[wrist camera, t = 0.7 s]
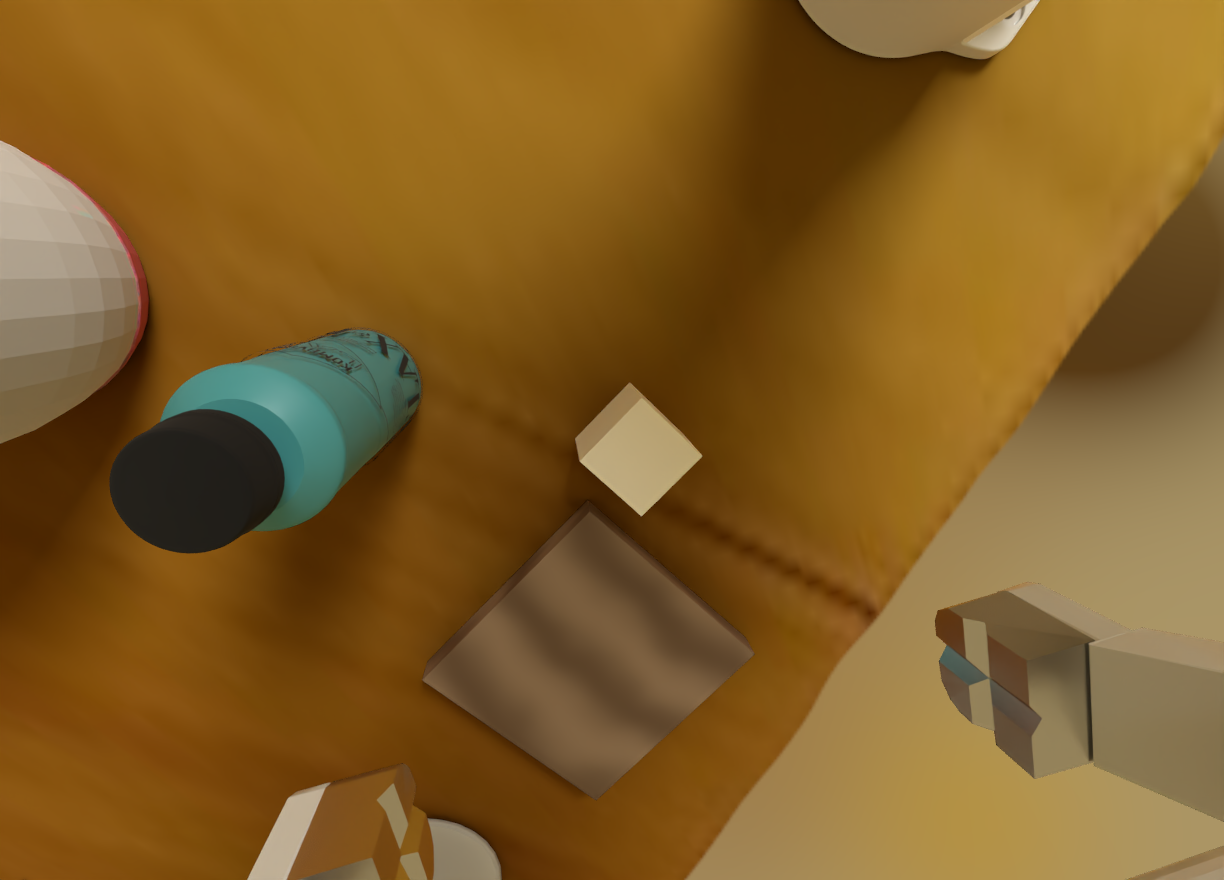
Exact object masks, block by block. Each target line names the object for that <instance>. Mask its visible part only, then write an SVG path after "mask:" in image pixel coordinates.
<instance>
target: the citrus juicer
mask: <svg viewBox="0 0 1224 880" xmlns="http://www.w3.org/2000/svg"><path fill="white" fill-rule="evenodd" d="M148 306H149V296H148V289H147V281H146V277H145V274H144V271H143V268H142V265H141V262H140V259H139V256H138V255H137V253H136V251H135V249H134V247H133V246H132V244H131V242H130V240H129V238H128V237H127V235H126V234H125V233H124V231H123V230H122V229H121V228H120V226H119V225H118V224H117V223H116V221H115V220H114V219H113V218H112V216H111V215H110V214H108V213H107V212H106V211H105V210H104V209H103V208H102V207H101V206H100V205H99V204H98V203H96V202H95V201H94V200H93V199H92V198H91V197H90V196H89V195H88V194H87V193H86V192H84V191H83V190H82V189H81V188H80V187H78V186H77V185H76V184H75V183H73V182H72V181H71V180H69V179H68V178H66V177H65V176H63V175H62V174H60V173H59V172H57V171H56V170H54V169H53V168H51V167H50V166H48V165H46V164H45V163H43V162H40V161H38V160H36V159H34V158H32V157H29V156H28V155H26V154H24V153H23V152H21V151H20V150H18V149H16V148H15V147H13V146H11V145H9V144H7V143H4V142H2V141H0V444H1V443H3V442H6V441H8V440H11V439H13V438H16V437H19V436H21V435H24V434H26V433H29V432H31V431H34V430H36V429H38V428H39V427H41V426H43V425H45V424H46V423H48V422H50V421H52V420H53V419H55V418H57V417H58V416H60V415H62V414H64V413H65V412H67V411H68V410H70V409H72V408H73V407H75V406H76V405H78V404H80V403H81V402H83V401H84V400H86V399H87V398H88V397H89V396H90V395H92V394H93V393H95V392H96V391H98V390H100V389H101V388H103V387H104V386H106V385H107V384H108V383H109V382H110V381H111V380H112V379H113V378H114V377H115V376H116V375H117V374H118V372H119V371H120V370H121V369H122V368H123V367H124V366H125V364H126V363H127V362H128V360H129V359H130V357H131V355H132V354H133V352H134V350H135V349H136V347H137V345H138V344H139V342H140V340H141V339H142V336H143V333H144V329H145V326H146V323H147V319H148Z"/></svg>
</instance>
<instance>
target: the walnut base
mask: <svg viewBox="0 0 1224 880" xmlns="http://www.w3.org/2000/svg"><path fill="white" fill-rule="evenodd" d="M753 655H754V652H753V650H752V648H751V647H750V645H749V643H748V641H747V639H746V638H745V637H744V636H743V635H742V634H741V633H740V632H739V631H737V630H736V629H735V628H734V627H733V626H732V625H731V624H729V623H728V622H727V621H726V620H725V619H724V618H722V617H721V616H720V615H719V614H718V613H717V612H716V611H714V610H713V609H712V608H711V607H710V606H709V605H708V604H706V603H705V602H704V601H703V600H702V599H701V598H700V597H698V596H697V595H696V594H695V593H694V592H693V591H691V590H690V589H689V588H688V587H687V586H686V585H685V584H683V583H682V582H681V581H680V580H679V579H678V578H677V577H675V576H674V575H673V574H672V573H671V572H670V571H668V570H667V569H666V568H665V567H664V566H663V565H662V564H660V563H659V562H658V561H657V560H656V559H655V558H654V557H652V556H651V555H650V554H649V553H648V552H647V551H646V550H644V549H643V548H642V547H641V546H640V545H639V544H637V543H636V542H635V541H634V540H633V539H632V538H631V537H629V536H628V535H627V534H626V533H625V532H624V531H623V530H621V529H620V528H619V527H618V526H617V525H616V524H614V523H613V522H612V521H611V520H610V519H609V518H608V517H606V516H605V515H604V514H603V513H602V512H601V511H600V510H598V509H597V508H596V507H595V506H594V505H593V504H591V503H590V502H589V501H588V500H587V501H586V502H585V503H584V504H583V505H582V506H581V507H580V508H579V509H578V510H577V511H576V512H575V513H574V514H573V515H572V516H571V517H570V518H569V519H568V520H567V521H566V522H565V523H564V524H563V525H562V526H561V527H560V528H559V529H558V530H557V531H556V532H555V533H554V534H553V536H552V537H551V538H550V539H549V540H548V541H547V542H546V543H545V544H544V545H543V546H542V547H541V548H540V549H539V550H538V551H537V552H536V553H535V554H534V555H533V556H532V557H531V558H530V559H529V560H528V561H527V562H526V563H525V564H524V565H523V566H522V567H521V568H520V569H519V570H518V571H517V572H516V573H515V574H514V575H513V576H512V577H511V578H510V579H509V580H508V581H507V582H506V583H505V584H504V585H503V586H502V587H501V588H500V589H499V590H498V591H497V592H496V593H495V594H494V595H493V596H492V597H491V598H490V599H489V600H488V601H487V602H486V603H485V604H484V605H483V606H482V607H481V608H480V609H479V610H478V611H477V612H476V613H475V614H474V615H473V616H472V617H471V618H470V619H469V620H468V621H467V622H466V623H465V624H464V625H463V626H462V627H461V628H460V629H459V630H458V631H457V632H456V633H455V634H454V635H453V636H452V637H451V638H450V639H449V640H448V641H447V642H446V643H445V644H444V645H443V646H442V647H441V648H440V649H439V651H438V652H437V653H436V654H435V655H434V656H433V657H432V658H431V659H430V660H429V661H428V662H427V665H426V669H425V672H424V675H423V679H422V681H424V682H425V683H427V684H428V685H430V686H431V687H433V688H434V689H436V690H437V691H438V692H440V693H441V694H443V695H444V696H446V697H447V698H449V699H450V700H451V701H453V702H454V703H456V704H457V705H459V706H460V707H462V708H463V709H464V710H466V711H467V712H469V713H470V714H472V715H473V716H475V717H476V718H477V719H479V720H480V721H482V722H483V723H485V724H486V725H488V726H489V727H490V728H492V729H493V730H495V731H496V732H498V733H499V734H501V735H502V736H503V737H505V738H506V739H508V740H509V741H511V742H512V743H514V744H515V745H517V746H518V747H519V748H521V749H522V750H524V751H525V752H527V753H528V754H530V755H531V756H532V757H534V758H535V759H537V760H538V761H540V762H541V763H543V764H544V765H545V766H547V767H548V768H550V769H551V770H553V771H554V772H556V773H557V774H558V775H560V776H561V777H563V778H564V779H566V780H567V781H569V782H570V783H571V784H573V785H574V786H576V787H577V788H579V789H580V790H582V791H583V792H584V793H586V794H587V795H589V796H590V797H592V798H593V799H595V800H597V799H598V798H599V797H600V796H601V795H603V794H604V793H605V792H606V791H607V790H608V789H609V788H610V787H611V786H612V785H613V784H614V783H616V782H617V781H618V780H619V779H620V778H621V777H622V776H623V775H624V774H625V773H626V772H627V771H629V770H630V769H631V768H632V767H633V766H634V765H635V764H636V763H637V762H638V761H639V760H641V759H642V758H643V757H644V756H645V755H646V754H647V753H648V752H649V751H650V750H651V749H652V748H654V747H655V746H656V745H657V744H658V743H659V742H660V741H661V740H662V739H663V738H664V737H665V736H667V735H668V734H669V733H670V732H671V731H672V730H673V729H674V728H675V727H676V726H677V725H678V724H680V723H681V722H682V721H683V720H684V719H685V718H686V717H687V716H688V715H689V714H690V713H691V712H693V711H694V710H695V709H696V708H697V707H698V706H699V705H700V704H701V703H702V702H703V701H705V700H706V699H707V698H708V697H709V696H710V695H711V694H712V693H713V692H714V691H715V690H716V689H718V688H719V687H720V686H721V685H722V684H723V683H724V682H725V681H726V680H727V679H728V678H729V677H731V676H732V675H733V674H734V673H735V672H736V671H737V670H738V669H739V668H740V667H741V666H742V665H744V664H745V663H746V662H747V661H748V660H749V659H750V658H751V657H752V656H753Z"/></svg>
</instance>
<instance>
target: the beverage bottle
mask: <svg viewBox="0 0 1224 880" xmlns="http://www.w3.org/2000/svg"><path fill="white" fill-rule="evenodd" d="M353 328H354V327H353ZM358 328H361V329H363V328H362V327H358ZM368 329H370V328H368ZM368 329H367V330H368ZM348 330H351V329H349V328H348V329H343V330H341V331H337V332H334V333H332V332H330V334H335V335H332V336H328V337H326V336H327V334H329V333H327V334H325V335H326V336H325V335H324V336H322V337H324V338H321V337H319V336H318V337H319V338H321V339H318V338H317V340H315V339H314V341H313V340H311V341H308V339H307V341H308V342H306V343H305V342H301V344H300V345H299V344H297V345H296V346H293V347H291V346H289V345H287V344H286V345H287V346H288V347H289V348H288V347H286V346H285V348H286V349H282V350H279V351H275V352H272V353H268V354H265V355H262V354H261V356H260V355H259V356H258V357H256V358H253V359H251V360H247V361H243V360H244V359H243V360H242V361H243V362H242V361H241V362H240V363H232V364H226V365H221V366H217V367H214V368H211V369H208V370H206V371H203V372H201V373H199V374H197V375H195V376H194V377H192V378H191V379H189V380H188V381H186V382H185V383H184V384H183V385H182V386H181V387H180V388H179V389H178V390H177V391H176V392H175V393H174V394H173V396H172V397H171V398H170V400H169V402H168V403H167V405H166V407H165V409H164V412H163V414H162V417H161V420H160V423H158V424H156V425H155V426H154V427H152V428H151V429H150V430H148V431H146V432H144V433H142V434H141V435H139V436H137V437H135V438H134V439H133V440H131V441H130V442H129V443H128V444H127V445H126V446H125V447H124V448H123V449H122V450H121V451H120V453H119V454H118V456H117V457H116V459H115V461H114V463H113V466H112V469H111V473H110V493H111V497H112V501H113V504H114V506H115V508H116V510H117V512H118V514H119V515H120V517H121V518H122V520H123V521H124V522H125V524H126V525H127V526H128V527H129V528H130V529H131V530H132V531H133V532H134V533H135V534H136V535H138V536H139V537H140V538H142V539H143V540H145V541H147V542H149V543H150V544H152V545H155V546H157V547H159V548H162V549H165V550H169V551H173V552H179V553H201V552H207V551H211V550H215V549H218V548H221V547H223V546H225V545H227V544H229V543H231V542H232V541H234V540H235V539H237V538H238V537H240V536H241V535H243V534H245V533H247V532H249V531H272V530H280V529H285V528H289V527H293V526H295V525H298V524H301V523H303V522H305V521H307V520H309V519H311V518H312V517H314V516H315V515H316V514H318V513H319V512H320V511H321V510H322V509H324V508H325V507H326V506H327V505H328V504H329V502H330V501H331V500H332V499H333V498H334V496H335V495H336V493H337V492H338V491H339V490H340V489H341V488H342V487H343V486H344V485H345V484H346V483H347V482H348V481H349V479H350V478H351V477H352V476H353V475H354V474H355V473H356V472H357V471H358V470H359V469H360V468H361V467H362V466H364V464H365V463H366V462H367V461H369V460H370V459H371V458H372V457H373V456H375V454H376V453H377V452H378V451H379V450H380V449H381V448H383V446H384V445H385V446H386V443H387V444H388V441H389V440H390V439H391V438H392V439H393V436H394V435H395V434H396V433H397V432H399V430H400V429H401V427H402V426H404V424H405V423H406V422H407V421H408V420H409V419H410V418H411V417H412V415H413V414H414V412H415V410H416V408H417V406H418V403H419V400H421V398H420V394H421V382H420V377H419V373H418V370H417V368H416V365H415V363H414V361H413V360H412V358H411V357H410V355H409V354H408V353H407V352H406V351H405V349H406V348H405V349H404V348H403V347H401V346H400V345H399V344H398V343H397V342H395V341H394V340H392V339H391V338H389V337H388V336H389V335H388V336H385V335H384V334H385V333H384V334H379V332H380V331H379V332H378V333H376V331H377V330H376V331H374V332H373V330H371V331H367V330H351V331H348ZM344 331H346V332H344ZM341 332H342V333H341ZM337 333H339V334H337ZM330 334H329V335H330ZM386 335H387V334H386ZM390 337H391V336H390ZM313 338H314V337H313ZM393 339H394V338H393ZM396 341H397V340H396ZM302 343H303V344H302ZM294 344H296V343H295V342H294ZM400 344H401V343H400ZM290 345H292V344H290ZM401 345H402V344H401ZM402 346H403V345H402ZM277 348H283V347H282V346H281V347H279V346H278V347H277ZM273 349H275V348H273ZM267 350H268V349H267ZM406 350H407V349H406ZM269 351H270V350H269ZM272 351H274V350H272ZM407 351H408V350H407ZM261 352H262V351H261ZM267 352H268V351H267ZM408 352H409V351H408ZM251 355H252V354H251ZM249 356H250V355H249ZM411 356H412V355H411ZM246 358H247V357H246ZM413 359H414V358H413ZM416 364H417V363H416ZM417 366H418V365H417ZM418 369H419V368H418ZM419 371H420V370H419ZM420 374H421V373H420ZM421 378H422V377H421ZM422 385H423V383H422ZM422 396H423V394H422ZM419 404H420V403H419ZM420 405H421V404H420ZM418 407H419V406H418ZM419 408H420V407H419ZM416 413H417V412H416ZM414 415H416V414H414ZM413 417H414V416H413ZM413 419H414V418H413ZM411 420H412V419H411ZM411 420H410V421H411ZM410 421H409V422H408V423H407V424H406V425H405V426H404V427H402V429H401V431H402V430H403V429H404V428H405V427H406V426H407V425H408V424H409V423H410ZM401 431H400V432H401ZM397 434H398V433H397ZM392 439H391V440H392ZM392 441H393V440H392ZM392 441H391V442H392ZM391 442H390V443H391ZM390 443H389V444H390ZM389 444H388V445H389ZM388 445H387V446H388ZM384 448H385V447H384ZM383 450H384V449H383ZM375 459H376V458H375ZM375 459H374V460H375ZM374 460H373V461H374ZM368 464H369V463H368ZM365 465H366V464H365Z"/></svg>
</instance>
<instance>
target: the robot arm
mask: <svg viewBox="0 0 1224 880" xmlns="http://www.w3.org/2000/svg"><path fill="white" fill-rule="evenodd" d="M1039 1H1040V0H799V2H800V4H801V5H802V7H803V8H804V9H805V11H806V12H807V13H808V15H809V16H810V17H811V18H812V20H813V21H814V22H815V23H816V24H817V25H818V26H819V27H820V28H821V29H822V30H823V31H824V32H825V33H827V34H828V35H829V36H831V37H832V38H833V39H835V40H836V41H838V42H839V43H841V44H843V45H844V46H846V47H848V48H850V49H853V50H855V51H857V52H860V53H863V54H867V55H871V56H876V57H884V58H902V57H909V56H914V55H919V54H924V53H928V52H934V51H948V52H951V53H954V54H957V55H960V56H964V57H968V58H973V59H987V58H990V57H992V56H993V55H995V54H996V53H998V52H999V51H1001V50H1002V49H1004V48H1005V47H1006V46H1007V45H1008V44H1009V43H1010V42H1011V41H1012V39H1013V38H1014V37H1015V35H1016V34H1017V32H1018V31H1019V29H1020V28H1021V27H1022V25H1023V24H1024V22H1025V21H1026V19H1027V18H1028V17H1029V15H1030V14H1031V12H1032V11H1033V9H1034V8H1035V7H1036V5H1037V4H1038V2H1039ZM935 627H936V636H938V637H939V638H940V639H941V640H942V641H943V642H944V643H945V644H946V645H947V646H946V648H945V650H944V652H943V654H942V656H941V658H940V660H939V665H940V671H941V679H942V682H943V684H944V687H945V689H946V691H947V693H948V695H949V697H950V699H951V701H952V702H953V703H954V705H955V706H956V707H957V709H958V710H959V712H960V713H961V714H963V715H964V716H965V717H966V718H967V719H968V720H969V721H970V722H971V723H972V724H975V725H978V726H981V727H984V728H986V729H989V730H992V731H994V734H995V740H996V745H997V746H998V747H999V748H1000V749H1001V750H1002V751H1004V752H1005V753H1006V754H1007V755H1008V756H1009V757H1010V758H1012V759H1013V760H1014V761H1015V762H1016V763H1017V764H1018V765H1019V766H1021V767H1022V768H1023V769H1024V770H1025V771H1026V772H1028V774H1030V775H1031V776H1032V777H1033V778H1034V779H1037V778H1040V777H1044V776H1047V775H1051V774H1054V773H1058V772H1061V771H1065V770H1068V769H1072V768H1075V767H1079V766H1082V765H1086V764H1089V763H1093V762H1094V766H1095V767H1098V768H1100V769H1103V770H1105V771H1107V772H1110V773H1112V774H1114V775H1117V776H1119V777H1121V778H1123V779H1126V780H1128V781H1130V782H1133V783H1135V784H1138V785H1140V786H1142V787H1144V788H1147V789H1149V790H1151V791H1154V792H1156V793H1158V794H1160V795H1163V796H1165V797H1168V798H1170V799H1172V800H1174V801H1177V802H1179V803H1181V804H1184V805H1186V806H1188V807H1191V808H1193V809H1195V810H1198V811H1200V812H1202V813H1205V814H1207V815H1209V816H1211V817H1214V818H1216V819H1219V820H1221V821H1223V822H1224V642H1221V641H1215V640H1209V639H1203V638H1198V637H1192V636H1187V635H1181V634H1175V633H1169V632H1164V631H1158V630H1153V629H1147V628H1139V629H1136V630H1130V629H1128V628H1126V627H1124V626H1122V625H1120V624H1118V623H1116V622H1114V621H1113V620H1111V619H1108V618H1106V617H1105V616H1103V615H1101V614H1099V613H1097V612H1095V611H1093V610H1090V609H1089V608H1086V607H1084V606H1082V605H1081V604H1079V603H1077V602H1075V601H1073V600H1070V599H1069V598H1067V597H1065V596H1063V595H1061V594H1059V593H1057V592H1055V591H1053V590H1051V589H1049V588H1047V587H1045V586H1043V585H1041V584H1039V583H1031V582H1026V583H1022V584H1019V585H1016V586H1013V587H1010V588H1007V589H1004V590H1001V591H998V592H997V593H994V594H991V595H988V596H985V597H981V598H978V599H974V600H971V601H968V602H964V603H961V604H958V605H954V606H951V607H948V608H944V609H941V610H938V611H937V615H936V619H935ZM415 791H416V784H415V781H414V779H413V776H412V773H411V771H410V768H409V767H408V766H406V765H405V764H403V763H401V764H397V765H393V766H390V767H386V768H382V769H378V770H374V771H371V772H367V773H363V774H359V775H355V776H352V777H348V778H344V779H340V780H336V781H333V782H332V783H325V784H322V785H318V786H315V787H312V788H308V789H305V790H301V791H298V792H296V793H294V794H293V795H292V796H290V797H289V798H288V799H287V801H286V803H285V805H284V807H283V809H282V811H281V813H280V815H279V817H278V819H277V821H276V823H275V825H274V827H273V829H272V831H271V833H270V835H269V837H268V839H267V841H266V843H265V845H264V847H263V849H262V851H261V853H260V855H259V857H258V859H257V861H256V863H255V865H254V867H253V869H252V871H251V873H250V875H249V877H248V879H247V880H433V875H434V845H433V840H432V834H431V829H430V825H429V822H428V819H427V816H426V813H425V812H423V811H422V810H420V809H418V808H417V807H415V806H414V805H413V801H414V796H415ZM1126 880H1224V846H1221V847H1219V848H1216V849H1213V850H1210V851H1207V852H1204V853H1201V854H1198V855H1196V856H1193V857H1190V858H1187V859H1184V860H1181V861H1178V862H1175V863H1173V864H1169V865H1166V866H1164V867H1161V868H1158V869H1155V870H1152V871H1149V872H1147V873H1144V874H1140V875H1138V876H1135V877H1132V878H1129V879H1126Z"/></svg>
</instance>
